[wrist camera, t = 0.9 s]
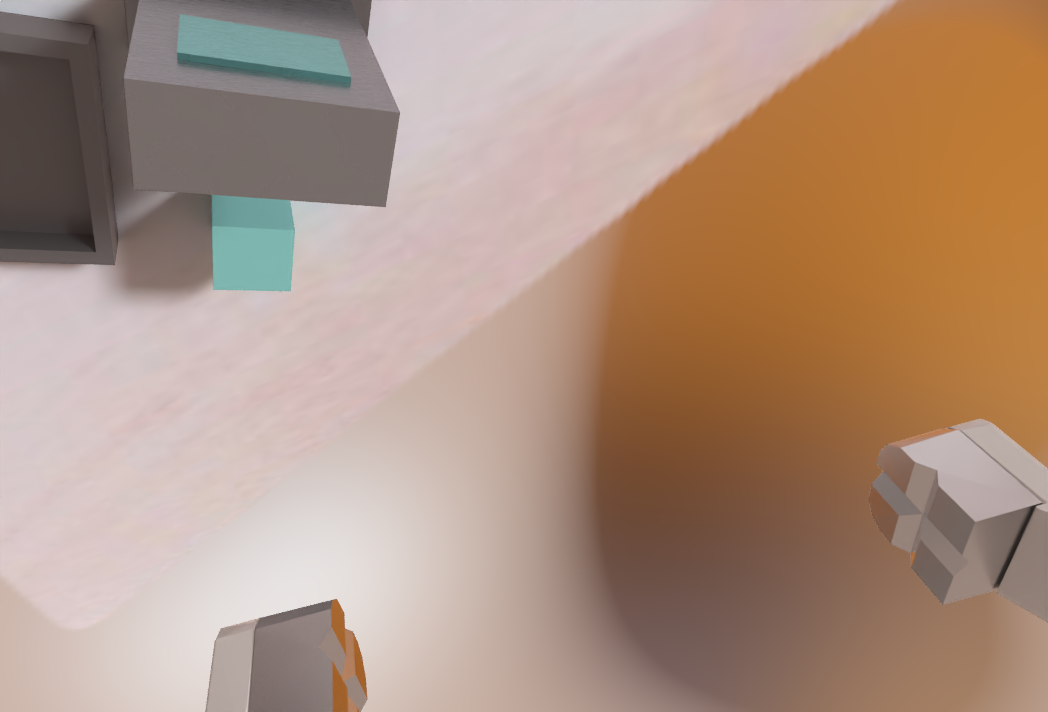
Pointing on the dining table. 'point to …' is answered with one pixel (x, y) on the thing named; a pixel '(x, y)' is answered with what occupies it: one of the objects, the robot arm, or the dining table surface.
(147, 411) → the dining table surface
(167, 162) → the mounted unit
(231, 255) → the teal block
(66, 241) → the black tray
